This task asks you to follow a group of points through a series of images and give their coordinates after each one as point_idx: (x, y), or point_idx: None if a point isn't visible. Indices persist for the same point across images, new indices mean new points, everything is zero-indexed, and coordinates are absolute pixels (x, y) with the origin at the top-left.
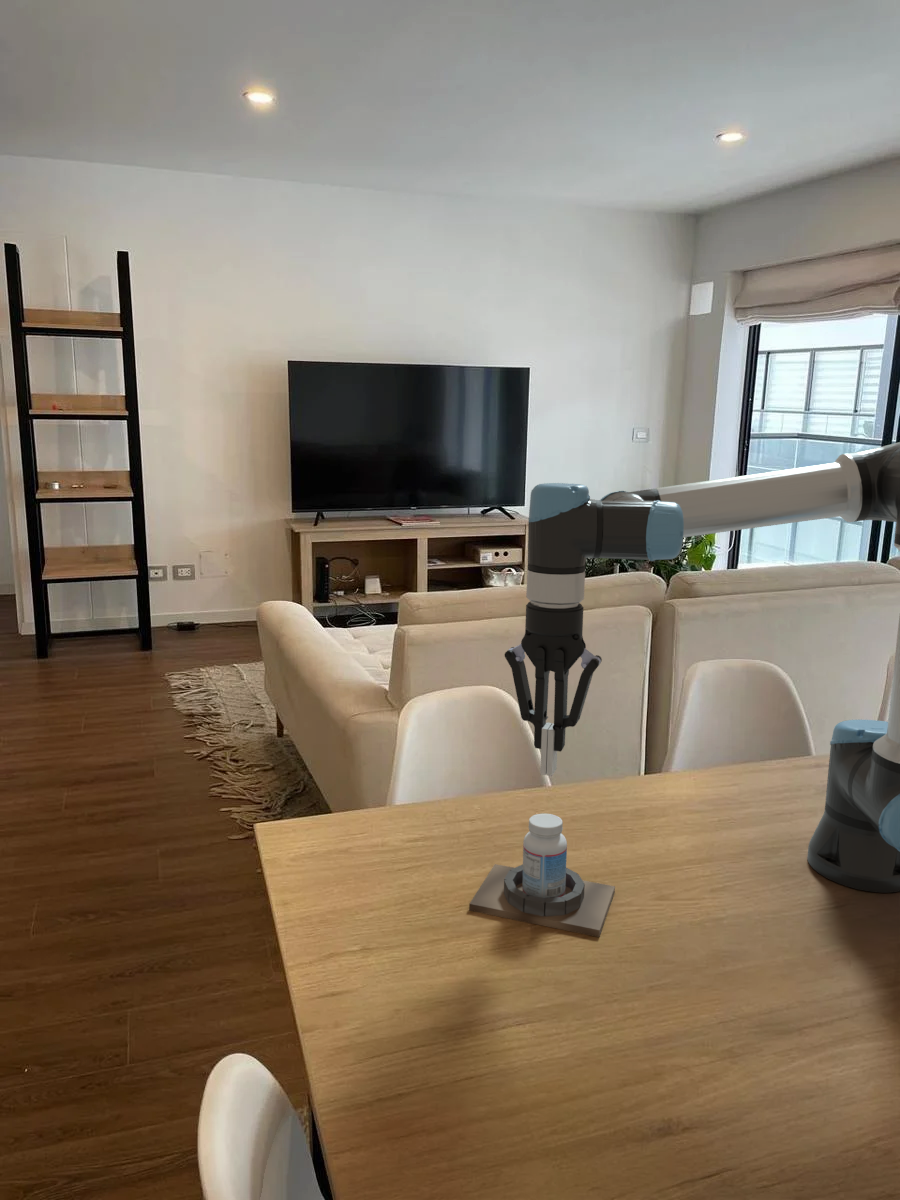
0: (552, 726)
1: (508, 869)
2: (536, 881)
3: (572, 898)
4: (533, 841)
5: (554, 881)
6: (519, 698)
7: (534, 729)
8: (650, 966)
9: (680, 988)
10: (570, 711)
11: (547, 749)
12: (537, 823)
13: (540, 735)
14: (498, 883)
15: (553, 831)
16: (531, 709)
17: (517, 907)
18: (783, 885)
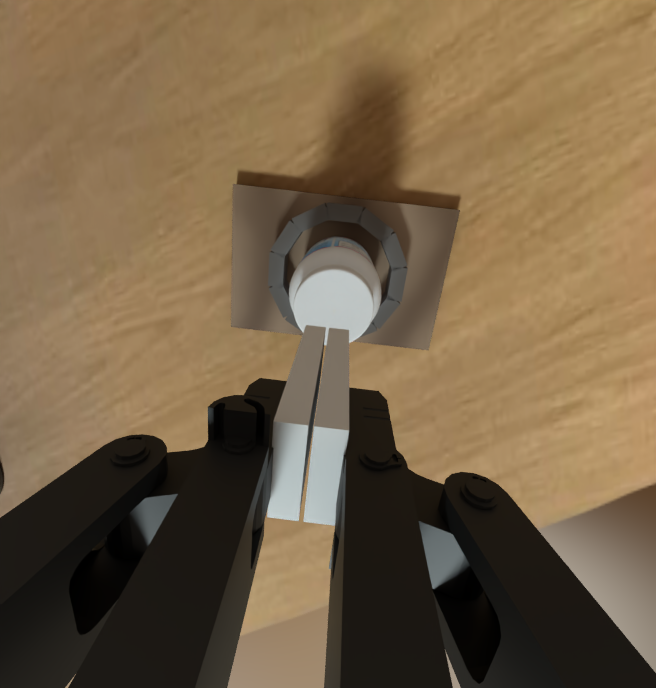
0: (291, 475)
1: (404, 338)
2: (346, 241)
3: (281, 233)
4: (357, 266)
5: (313, 247)
6: (620, 658)
7: (395, 447)
8: (147, 118)
9: (92, 63)
10: (90, 522)
11: (318, 369)
12: (351, 287)
13: (357, 423)
14: (416, 289)
15: (310, 273)
16: (443, 588)
17: (375, 215)
18: (16, 398)
